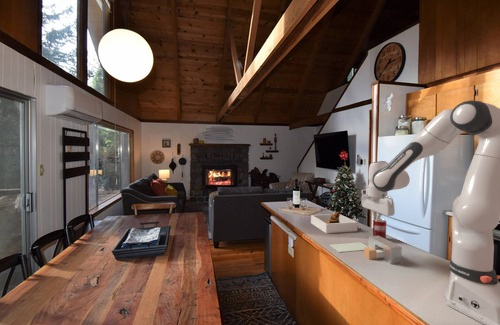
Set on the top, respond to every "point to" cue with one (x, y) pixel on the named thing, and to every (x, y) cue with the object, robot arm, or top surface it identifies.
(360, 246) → the pad
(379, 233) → the soda can
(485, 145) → the robot arm
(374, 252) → the plug
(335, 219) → the bear figurine
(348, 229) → the white shallow square tray
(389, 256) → the notched metal block
